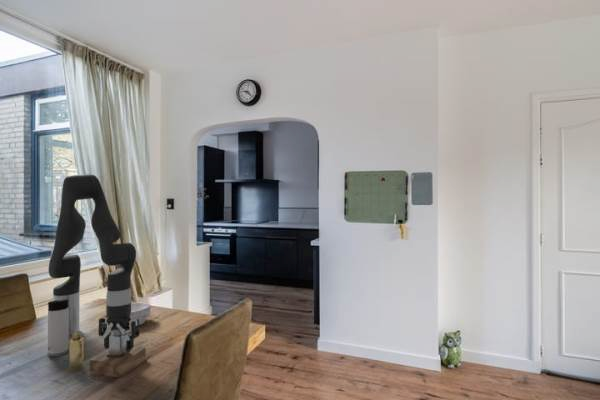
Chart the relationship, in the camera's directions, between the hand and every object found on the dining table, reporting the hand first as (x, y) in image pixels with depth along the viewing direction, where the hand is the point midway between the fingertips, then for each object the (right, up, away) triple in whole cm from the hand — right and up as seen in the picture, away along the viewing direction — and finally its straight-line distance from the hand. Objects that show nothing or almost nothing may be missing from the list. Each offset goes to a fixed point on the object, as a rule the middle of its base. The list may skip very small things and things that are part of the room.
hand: (118, 349), depth 114 cm
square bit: (0, -5, 0) cm, 5 cm away
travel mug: (-28, -6, +9) cm, 30 cm away
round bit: (-14, -6, -1) cm, 15 cm away
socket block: (0, -6, 0) cm, 6 cm away
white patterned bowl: (-15, -6, +39) cm, 42 cm away
